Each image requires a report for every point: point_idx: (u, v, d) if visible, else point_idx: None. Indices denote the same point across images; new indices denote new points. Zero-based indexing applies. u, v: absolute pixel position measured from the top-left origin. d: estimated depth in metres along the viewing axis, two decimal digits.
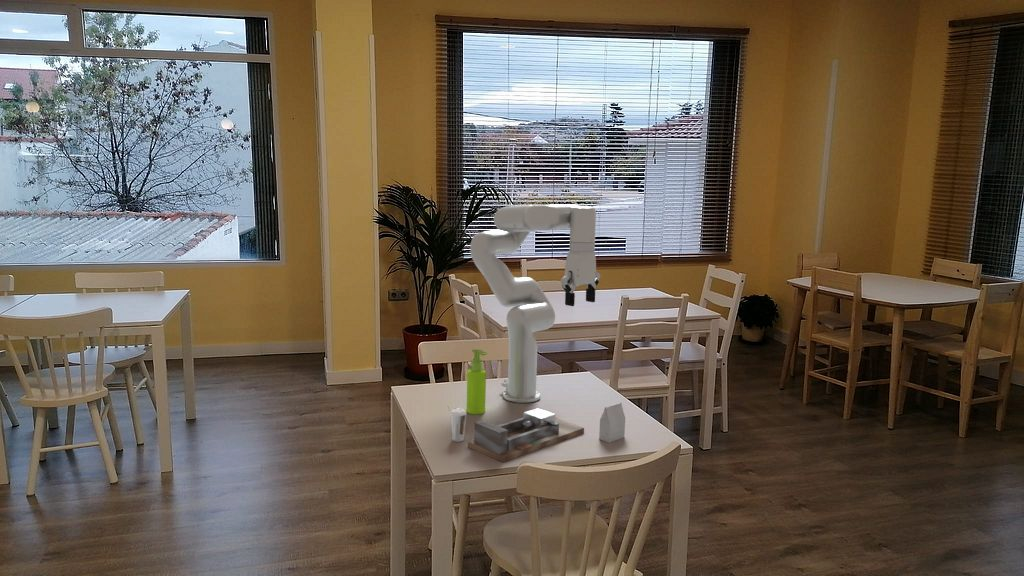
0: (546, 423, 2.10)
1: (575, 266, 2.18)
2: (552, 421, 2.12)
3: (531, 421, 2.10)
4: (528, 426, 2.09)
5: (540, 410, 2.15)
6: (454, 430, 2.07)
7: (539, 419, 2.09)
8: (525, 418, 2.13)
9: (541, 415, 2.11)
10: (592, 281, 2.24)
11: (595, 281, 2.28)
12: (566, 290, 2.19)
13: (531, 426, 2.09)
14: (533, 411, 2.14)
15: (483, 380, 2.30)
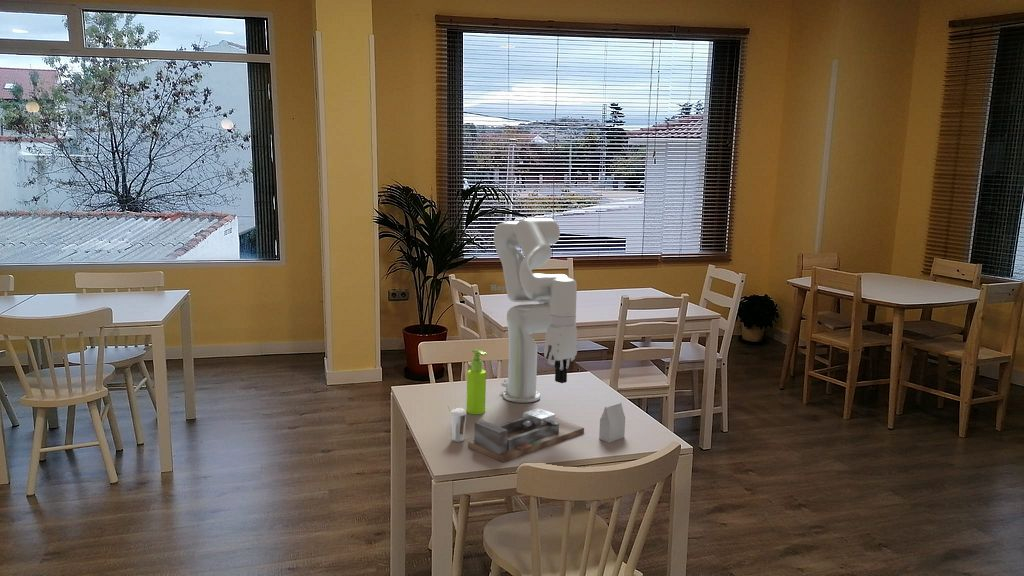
0: (546, 423, 2.10)
1: (555, 341, 2.10)
2: (552, 421, 2.12)
3: (531, 421, 2.10)
4: (528, 426, 2.09)
5: (540, 410, 2.15)
6: (454, 430, 2.07)
7: (539, 419, 2.09)
8: (525, 418, 2.13)
9: (541, 415, 2.11)
10: (573, 355, 2.16)
11: None
12: (556, 367, 2.15)
13: (531, 426, 2.09)
14: (533, 411, 2.14)
15: (483, 380, 2.30)
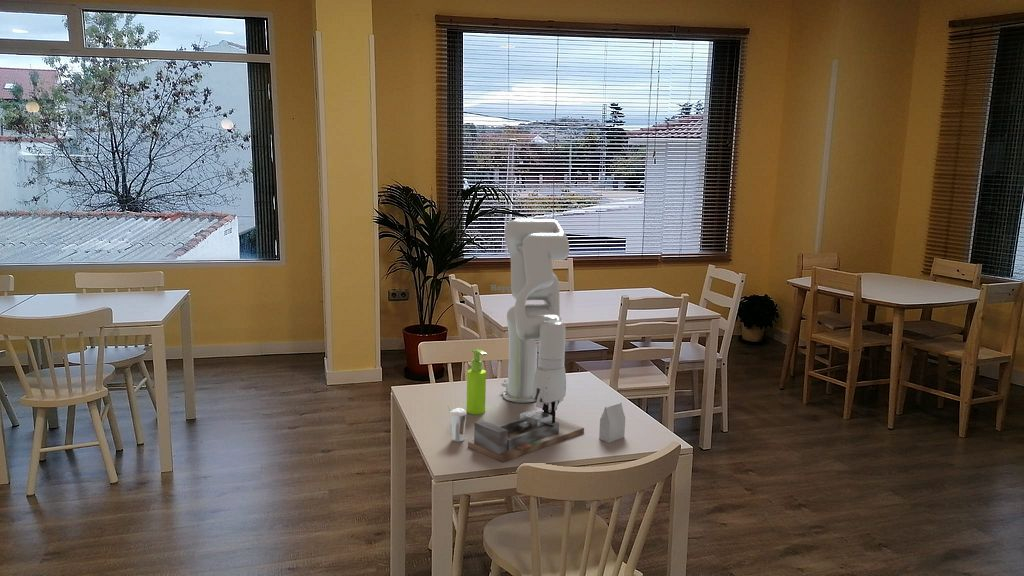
0: (543, 424, 2.09)
1: (543, 384, 2.10)
2: (549, 422, 2.11)
3: (528, 422, 2.09)
4: (525, 427, 2.08)
5: (537, 411, 2.14)
6: (454, 430, 2.07)
7: (536, 420, 2.08)
8: (522, 419, 2.12)
9: (538, 416, 2.10)
10: (562, 396, 2.16)
11: None
12: (544, 409, 2.14)
13: (528, 427, 2.09)
14: (530, 412, 2.13)
15: (483, 380, 2.30)
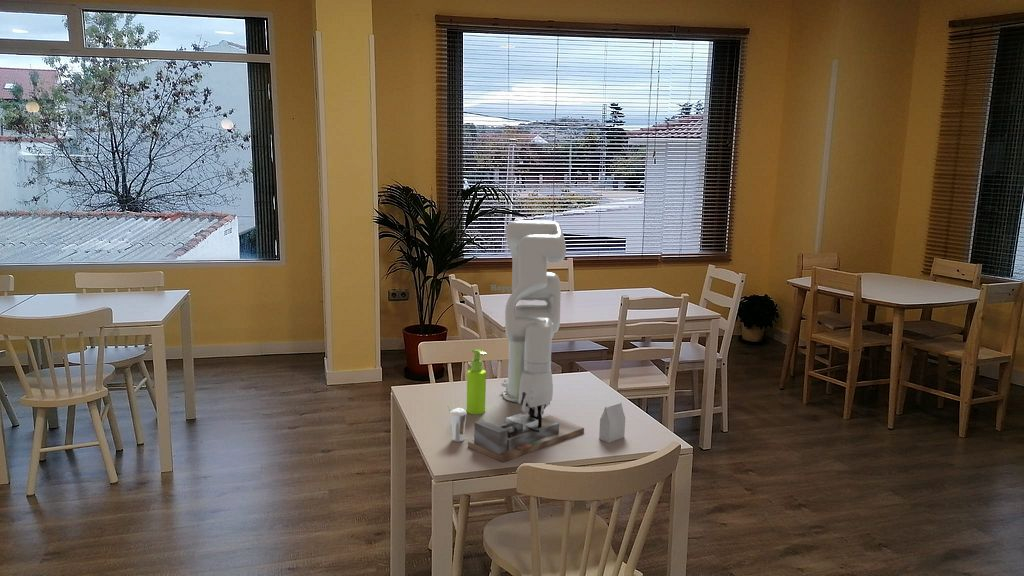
0: (529, 429, 2.05)
1: (529, 388, 2.06)
2: (535, 427, 2.07)
3: (513, 427, 2.05)
4: (510, 432, 2.04)
5: (523, 415, 2.10)
6: (454, 430, 2.07)
7: (521, 425, 2.04)
8: (507, 423, 2.08)
9: (524, 421, 2.06)
10: (548, 400, 2.12)
11: None
12: (530, 413, 2.10)
13: (513, 432, 2.05)
14: (516, 416, 2.09)
15: (483, 380, 2.30)
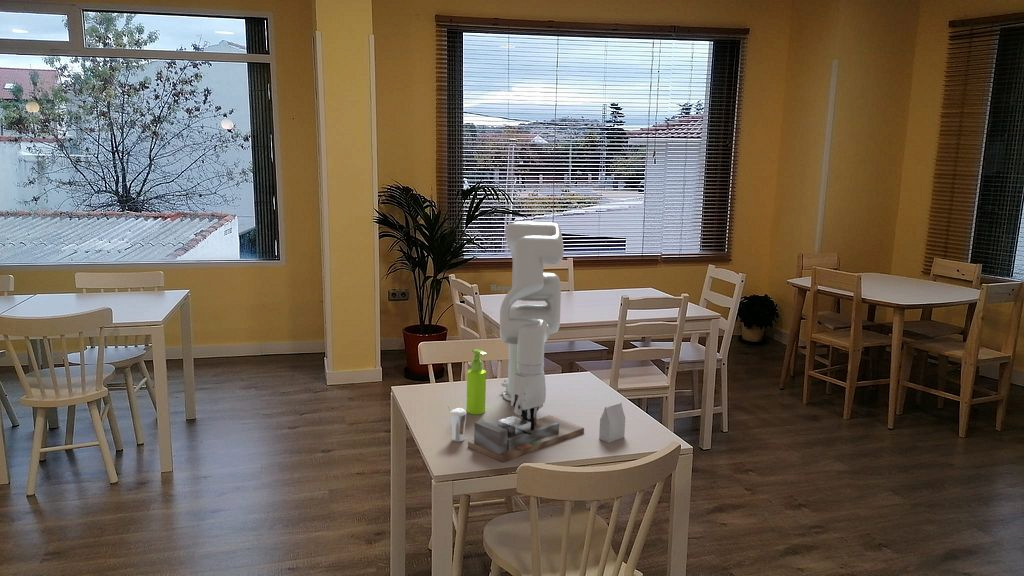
0: (521, 431, 2.03)
1: (521, 390, 2.04)
2: (527, 429, 2.05)
3: None
4: None
5: (515, 418, 2.08)
6: (454, 430, 2.07)
7: (513, 427, 2.02)
8: (499, 426, 2.06)
9: (516, 423, 2.04)
10: (541, 403, 2.10)
11: None
12: (523, 416, 2.08)
13: None
14: (508, 419, 2.07)
15: (483, 380, 2.30)
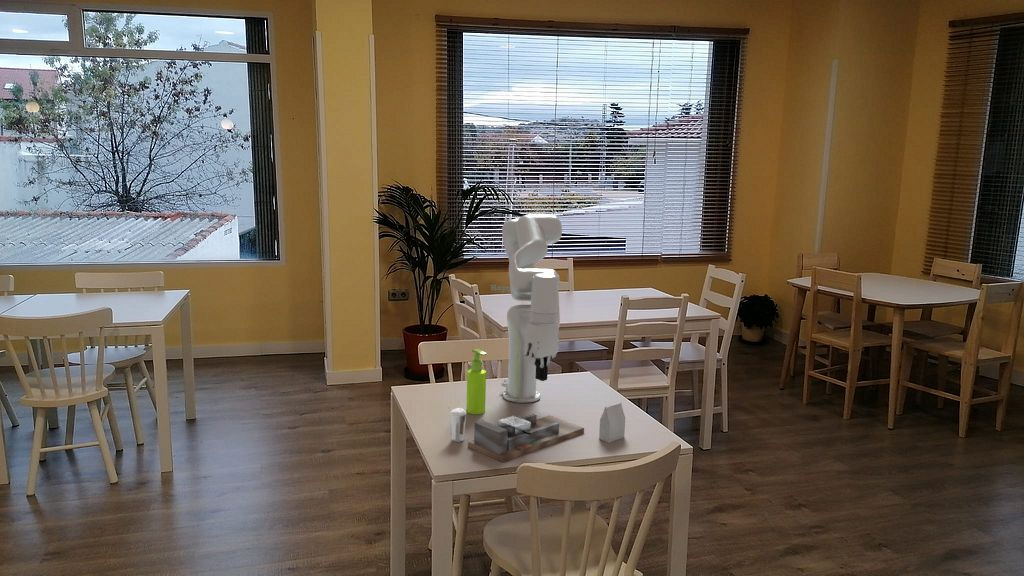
0: (521, 431, 2.03)
1: (535, 338, 2.05)
2: (527, 429, 2.05)
3: None
4: None
5: (515, 418, 2.08)
6: (454, 430, 2.07)
7: (513, 427, 2.02)
8: (499, 426, 2.06)
9: (516, 423, 2.04)
10: (554, 352, 2.11)
11: None
12: (536, 365, 2.10)
13: None
14: (508, 419, 2.07)
15: (483, 380, 2.30)
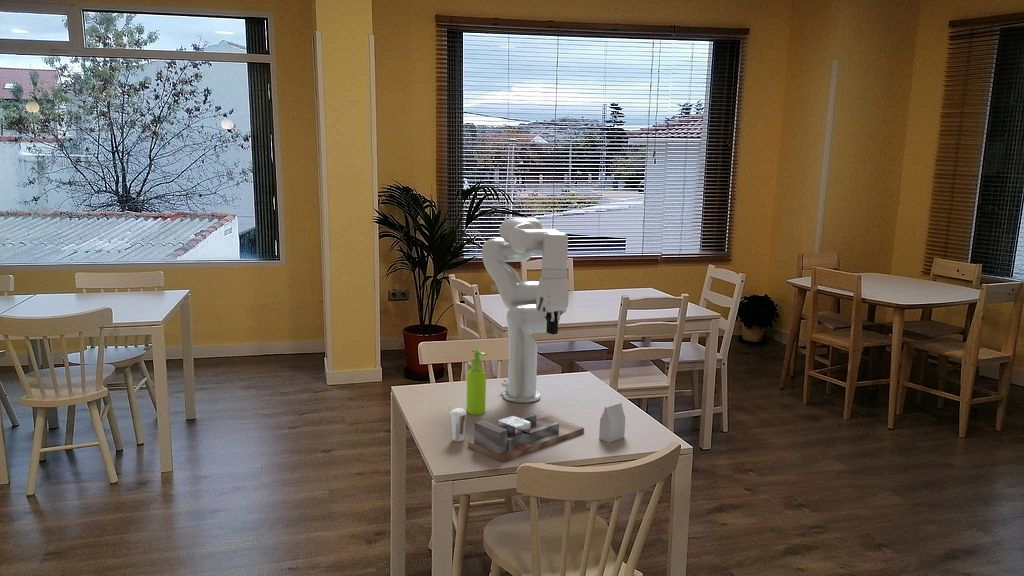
0: (521, 431, 2.03)
1: (546, 293, 2.17)
2: (527, 429, 2.05)
3: None
4: None
5: (515, 418, 2.08)
6: (454, 430, 2.07)
7: (513, 427, 2.02)
8: (499, 426, 2.06)
9: (516, 423, 2.04)
10: (564, 307, 2.23)
11: None
12: (547, 319, 2.22)
13: None
14: (508, 419, 2.07)
15: (483, 380, 2.30)
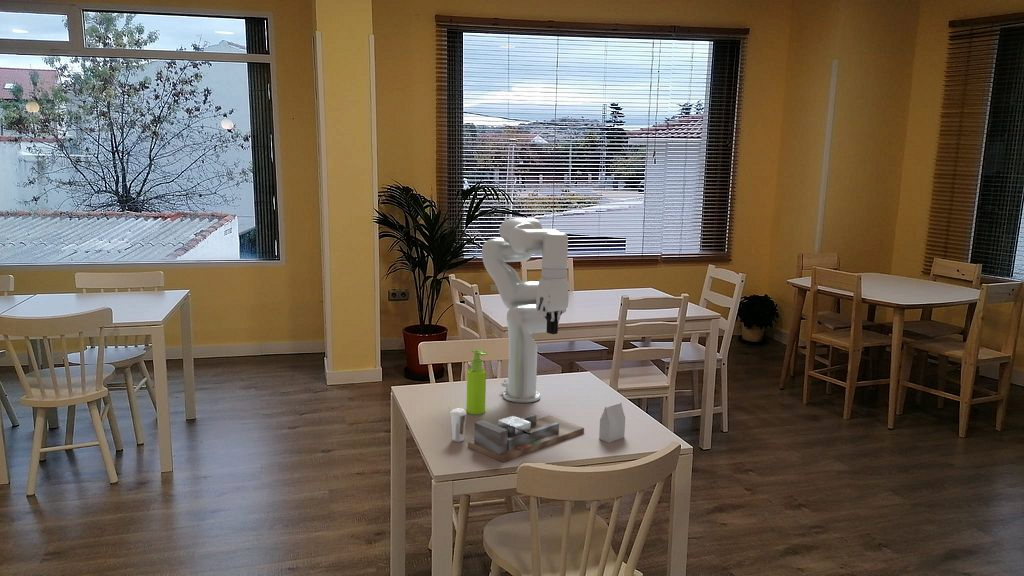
0: (521, 431, 2.03)
1: (546, 292, 2.17)
2: (527, 429, 2.05)
3: None
4: None
5: (515, 418, 2.08)
6: (454, 430, 2.07)
7: (513, 427, 2.02)
8: (499, 426, 2.06)
9: (516, 423, 2.04)
10: (564, 307, 2.23)
11: None
12: (547, 318, 2.22)
13: None
14: (508, 419, 2.07)
15: (483, 380, 2.30)
